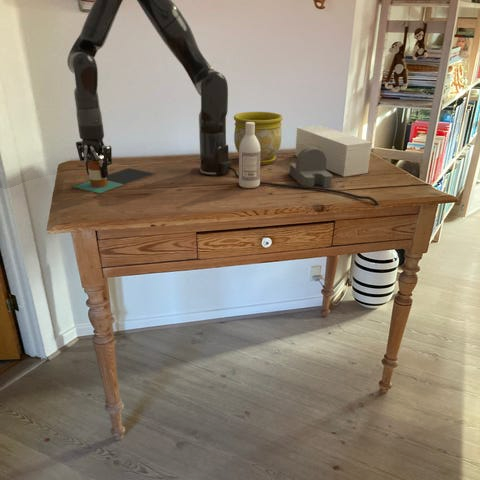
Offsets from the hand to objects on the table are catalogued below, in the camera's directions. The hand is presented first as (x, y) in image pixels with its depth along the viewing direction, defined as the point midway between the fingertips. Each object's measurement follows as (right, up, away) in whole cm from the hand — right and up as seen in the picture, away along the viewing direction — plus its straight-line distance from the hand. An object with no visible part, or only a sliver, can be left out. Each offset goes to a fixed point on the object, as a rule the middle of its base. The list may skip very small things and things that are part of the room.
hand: (97, 176), depth 171 cm
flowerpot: (+53, +14, +30) cm, 63 cm away
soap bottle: (0, -3, +2) cm, 3 cm away
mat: (+4, 0, +7) cm, 8 cm away
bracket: (+71, +1, +9) cm, 71 cm away
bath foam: (+50, -3, +3) cm, 50 cm away
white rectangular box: (+81, +12, +26) cm, 86 cm away
